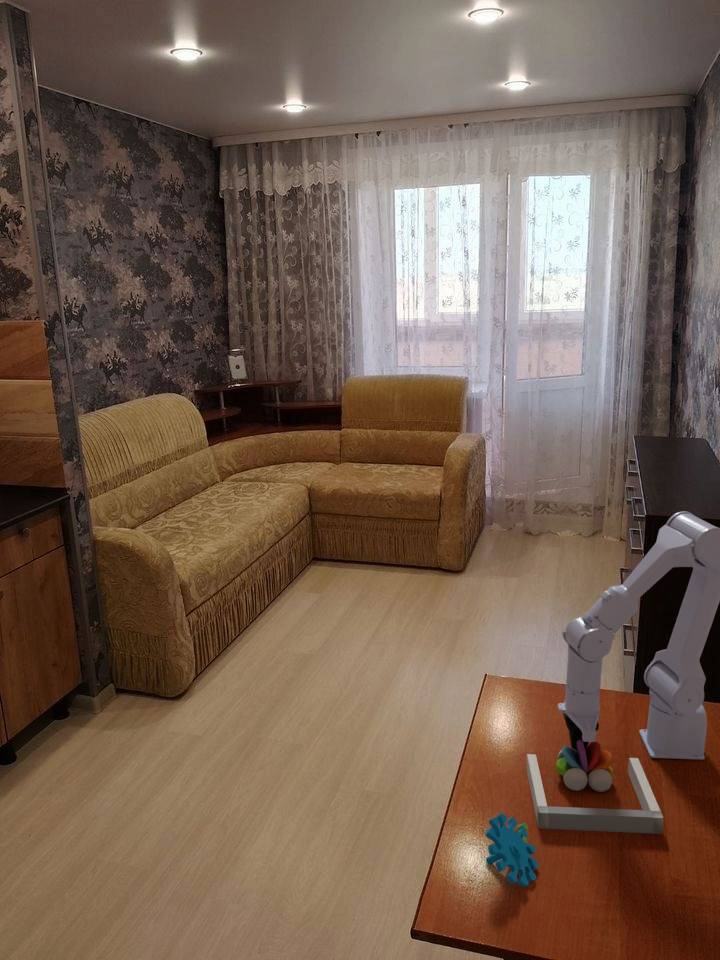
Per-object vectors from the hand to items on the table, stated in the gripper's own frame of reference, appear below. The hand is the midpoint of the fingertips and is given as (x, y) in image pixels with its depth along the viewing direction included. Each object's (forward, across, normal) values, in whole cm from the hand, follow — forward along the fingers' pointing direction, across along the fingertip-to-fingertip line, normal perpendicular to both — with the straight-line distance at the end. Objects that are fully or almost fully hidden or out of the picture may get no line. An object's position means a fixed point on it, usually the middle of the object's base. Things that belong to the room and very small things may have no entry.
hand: (578, 751), depth 134 cm
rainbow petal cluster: (+2, +5, 0) cm, 6 cm away
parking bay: (+2, +10, 0) cm, 10 cm away
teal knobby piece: (+2, +26, -14) cm, 30 cm away
